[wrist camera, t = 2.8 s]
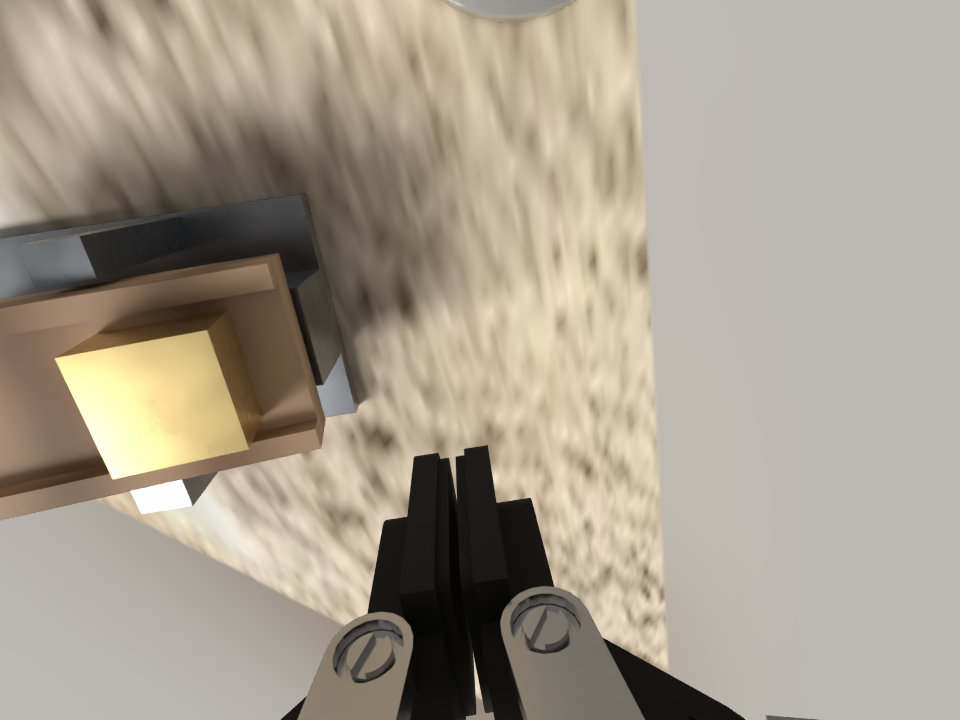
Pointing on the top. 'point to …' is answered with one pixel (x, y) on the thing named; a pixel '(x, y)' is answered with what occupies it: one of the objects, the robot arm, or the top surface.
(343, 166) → the top surface
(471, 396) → the top surface
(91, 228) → the beam stand
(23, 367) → the beam
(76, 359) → the brass block
